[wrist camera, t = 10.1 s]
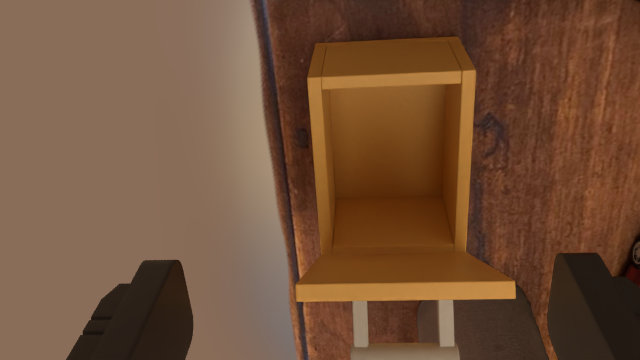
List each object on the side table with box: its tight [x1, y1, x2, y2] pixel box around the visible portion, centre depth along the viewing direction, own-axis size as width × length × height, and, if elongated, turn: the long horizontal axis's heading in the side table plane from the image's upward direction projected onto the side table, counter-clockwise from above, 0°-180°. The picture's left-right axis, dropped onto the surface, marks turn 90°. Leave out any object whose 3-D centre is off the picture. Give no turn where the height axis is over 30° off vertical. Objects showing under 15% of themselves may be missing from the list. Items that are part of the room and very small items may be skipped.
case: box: [307, 36, 476, 255], centre depth 40 cm, size 13×10×7 cm
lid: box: [296, 252, 516, 360], centre depth 33 cm, size 13×10×5 cm
